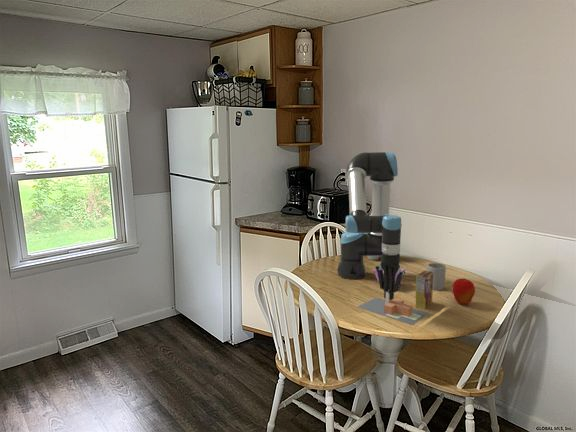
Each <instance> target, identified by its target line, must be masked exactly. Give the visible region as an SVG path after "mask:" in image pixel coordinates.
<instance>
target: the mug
mask: <svg viewBox="0 0 576 432" xmlns="http://www.w3.org/2000/svg"><path fill="white" fill-rule="evenodd" d="M426 268H427V269H426V271H431V272H433V291H442V290H445V285H446V269H447V266H446V265H445V264H442V263H436V262H431V263H428V264H427V267H426Z"/></svg>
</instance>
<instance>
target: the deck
mask: <svg viewBox="0 0 576 432" xmlns="http://www.w3.org/2000/svg"><path fill="white" fill-rule="evenodd" d="M385 301H386V299H385V298H384V299H383V298H380V297H373V298H371V299H370V300H368V301H366V302H364V303H362V304H360V305H358V306H357V308H359V309H360V310H361V309H362V310H364V311H368V312H371V313H374V314H377V315H380V316H382V317H386V318H389V319H392V320H395V321H398V322H401V323H404V324H408V325H411V326H413V325H415V324H416V323H417V322H419V321H420V320H422V319H423V318H425V317H427V316H428V315H430V312H427V311H425V310H419V308H418V309H417V308H415V307H413V313H412V315H410V316H409V317H407V316H404V315H401V314H398V313H394V314H392V315H389V314H386V313H384V305H385Z"/></svg>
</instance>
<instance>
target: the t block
mask: <svg viewBox="0 0 576 432" xmlns="http://www.w3.org/2000/svg"><path fill="white" fill-rule="evenodd" d="M404 302H405V301H404V299H401V298H397V297H396V298H393V299H392V301H390V302H389V303H387V304H385V305H384V313H386V314H389V315H392V314H394V313H398V314H401V315H404V316H407V317H409V316H410V315H412V313H413V308H414V306H413V305H409V304H406V303H404Z"/></svg>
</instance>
